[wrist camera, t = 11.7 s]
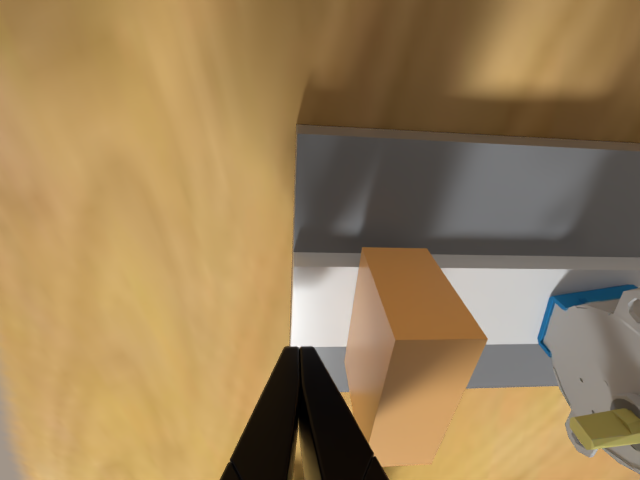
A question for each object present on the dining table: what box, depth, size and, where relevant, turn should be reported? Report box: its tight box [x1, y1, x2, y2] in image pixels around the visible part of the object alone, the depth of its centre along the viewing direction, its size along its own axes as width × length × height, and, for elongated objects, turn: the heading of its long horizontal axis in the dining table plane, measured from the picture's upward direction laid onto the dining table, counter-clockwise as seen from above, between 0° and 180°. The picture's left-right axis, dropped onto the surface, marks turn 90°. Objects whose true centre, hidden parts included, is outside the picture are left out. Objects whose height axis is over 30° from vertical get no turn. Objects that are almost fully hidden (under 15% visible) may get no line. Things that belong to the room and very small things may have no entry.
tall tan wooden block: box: [344, 247, 488, 467], centre depth 10 cm, size 2×5×4 cm, turn 176°
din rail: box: [289, 124, 640, 392], centre depth 12 cm, size 18×11×4 cm, turn 86°
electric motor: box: [537, 284, 640, 474], centre depth 10 cm, size 7×5×5 cm
